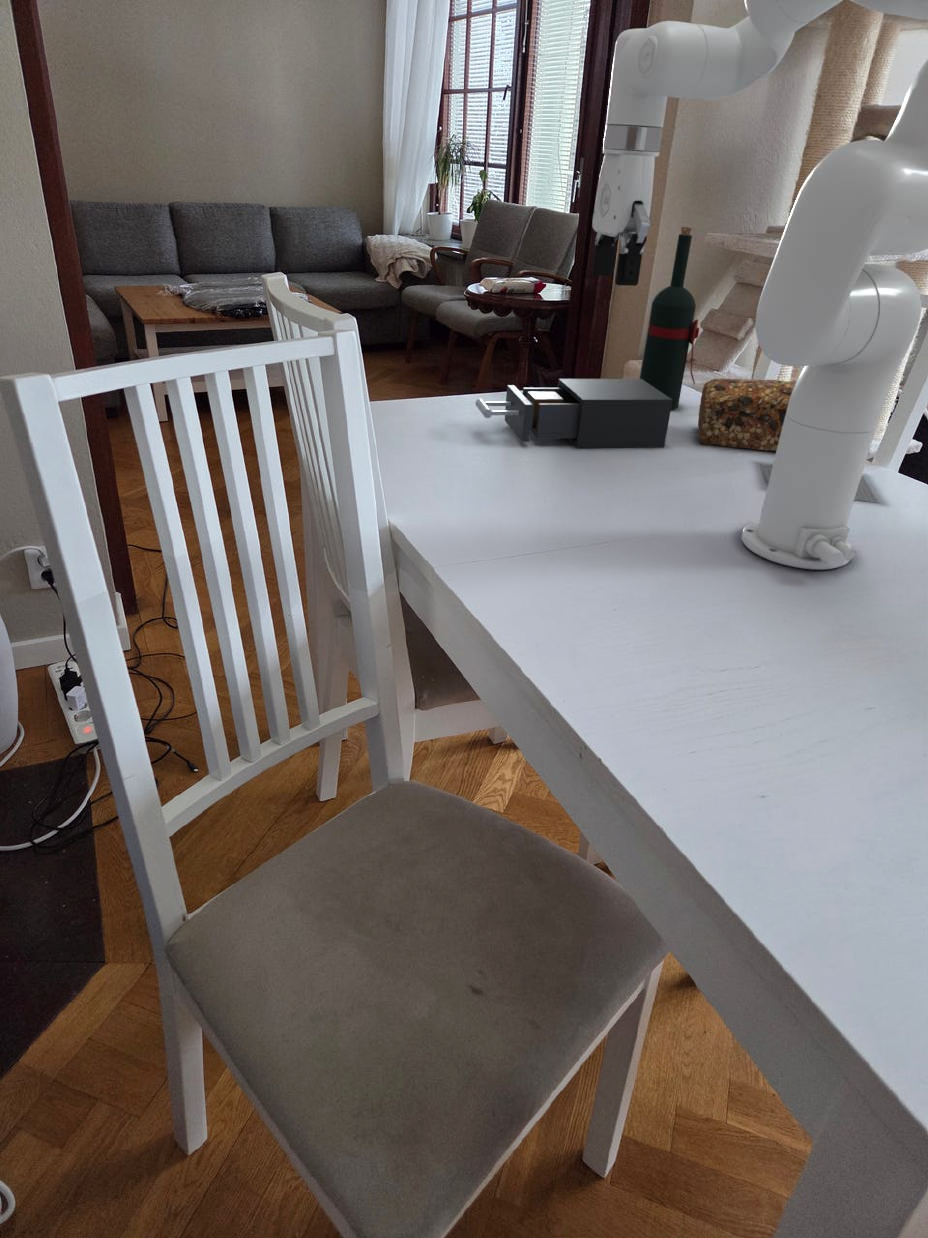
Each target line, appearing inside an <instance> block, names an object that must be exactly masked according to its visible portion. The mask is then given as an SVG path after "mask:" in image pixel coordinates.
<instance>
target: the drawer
mask: <svg viewBox="0 0 928 1238" xmlns="http://www.w3.org/2000/svg"><path fill="white" fill-rule="evenodd" d="M527 392H556V393H557V394H558V395H559V396H560V397H561V398H562V399H563V403H539V405H538V415H537V425H536V428H532V427H531V418H532V408H533V405H532V404H531V403H530V401H529V400H528V399H527ZM505 396H506V397H505V401H484V399H482V398H477V399H476V401H475V407H476V408H477V409H478V410H479V412H480V413H481V414H482V415H483V417H484V418H485V419H490V418H491V417H492V416H504V422H505V423H506V425H508V426H509V428H510V429H511V430H512V432H513V433H514V434H515V435H516V436H517V438H518V439H519V440H520V442H521V443H529V442H530V438H531V434H532V435H533V436H534V438H535V439H536V440H540V439H543V440H545V439H549V440H550V439H568V438H577V430H578V422H579V414H580V406H581V403H580V402H579V401H578V400H576V399H575V398H574V397H573V396H572V395H571V394H570V393H568V392H567V391H566V390H565V389H564V388H558V387H522V392H521V391H520V389H518V388H517V386H515V385H514V384H507V385H506V395H505ZM490 407H505V409H503V410H491V408H490Z"/></svg>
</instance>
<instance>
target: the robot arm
mask: <svg viewBox="0 0 928 1238" xmlns="http://www.w3.org/2000/svg"><path fill="white" fill-rule="evenodd" d="M843 1H844V0H744V5H745V9H746V11H747V14H748V15H747V16H746V17H745V18H743V19H741V20H740V21H739V22H737V23H736V24H734V25H732V26H731V27H728V28H726V27H720V26H714V25H708V24H702V23H694V22H684V21H677V20H663V21H660V22H657V23H654V24H652V25H651V26H649V27H647V28H643V27H642V28H630V29H626V30H623V31H622V32H620V34H619V35H618V36H617V39H616V42H615V45H614V53H613V54H614V55H613V61H612V69H611V77H610V78H611V79H610V86H609V87H610V88H609V95H608V105H607V113H606V121H605V129H604V136H603V137H604V138H603V147H602V154H604V156H603V161H602V165H601V169H600V172H599V179H598V183H597V190H596V195H595V202H594V209H593V214H592V224H591V227H592V229H593V231H594V232H596V236H595V239H594V253H593V259H592V260H593V261H592V268H591V269H592V270H591V273H592V275H594V276H613V275H614V271H615V265H616V264H617V265H616V272H615V280H614V283H615V285H616V286H630V287H631V286H632V287H633V286H634V287H636V286H638V284H639V279H640V272H641V267H642V258H643V255H644V253H645V245H646V243H647V241H648V237H647V235H648V232H649V229H650V226H651V220H650V214H651V207H652V200H653V199H652V198H653V191H654V190H653V189H654V177H655V162H656V161H655V160H656V158H657V157H660V151H661V143H662V138H663V131H664V129H663V128H664V124H665V117H666V110H667V104H668V98H675V99H676V98H677V99H682V98H683V99H691V100H702V101H709V102H710V101H711V102H713V101H720V100H724V99H728V98H730V97H733V96H735V95H737V94H739V93H741V92H742V91H744V90H746V89H747V88H749V87H750V86H752V85H754V84H755V83H757V82H759V81H761V80H762V79H763V78H765V77H767V76H768V75H769V74H770V73H771V72H772V71H774V70H775V68H776V67H777V66H778V65H779V64H780V62H781V61H782V59H784V56H785V55H786V53H787V51H788V50H789V48H790V46H791V44H792V42H793V39H794V38H795V34H796V32H797V31H798V30H800V29H802V28H803V27H805V26H806V25H808V24H809V23H810V22H812V21H814V20H815V19H817V18H818V17H820V16H822V15H824V13H826V12H828V11H829V10H830V9H832V8H834V7H836V6H837V5H838V4H840V3H841V2H843ZM849 1H850V2H852V3H853V4H856V5H858V6H861V7H862V8H865V9H869V10H871V11H875V12H879V13H882V14H886V15H894V16H899V17H904V18H909V19H914V20H915V19H916V20H920V21H922V20H923V21H928V0H849ZM897 114H898V115H897V117H896V119H895V121H894V123H893V125H892V126H891V129H890V131H889V133H888V135H887V137H886V138H885V140H878V139H861V140H856V141H851V142H847V143H845V144H842V145H840V146H839V147H838V146H837V148H835V149H833V150H832V151H830V152H829V153H828V154H827V155H826V156H824V157H823V158H822V159H821V160H820V161H819V162H818V163H817V164H816V166H815V167H814V168H813V169H812V171H810V174H809V175H808V176H807V177H806V179H805V181H804V183H803V184H802V186H801V187H800V189H799V192H798V193H797V197H796V199H795V202H794V204H793V207H792V209H791V212H790V215H789V217H788V220H787V222H786V224H785V225H786V226H785V228H784V231H783V234H782V235H781V239H780V242H779V245H778V247H777V249H776V251H775V255H774V258H773V260H772V263H771V266H770V269H769V271H768V273H767V277H766V279H765V282H764V285H763V288H762V291H761V294H760V296H759V301H758V304H757V308H756V314H755V315H756V316H755V335H756V339H757V343H758V345H759V348H760V349H761V351H762V352H763V354H764V355H765V356H766V357H767V358H768V359H769V360H771V361H772V362H774V363H776V364H779V365H782V366H787V367H804V368H803V369H802V370H801V372H800V374H799V376H798V378H797V380H796V381H797V382H796V384H795V386H794V389H793V391H792V394H791V397H790V400H789V404H788V408H787V412H786V415H785V419H784V423H783V427H782V431H781V435H780V439H779V443H778V447H777V451H775V455H774V459H773V464H772V465H773V467H772V471H771V475H770V479H769V483H768V487H767V486H766V492H765V496H764V499H763V504H762V507H761V511H760V516H759V519H756V520H753V521H750V522H749V523H747V524H746V525H744V527H743V529H742V533H741V540H742V541H741V542H742V543H743V545H745V546H746V548H747V549H748V550H750V551H751V552H753V553H754V554H756V555H757V556H759V557H761V558H764V559H766V560H768V561H771V562H774V563H777V564H780V565H784V566H788V567H793V568H798V569H803V570H820V571H822V570H833V569H839V568H841V567H843V566H845V565H847V564H848V563H850V561H851V560H853V559H854V558H855V557H856V554H857V551H856V550H855V548H853V545H852V544H851V542H849V540H848V536H849V534H850V531H851V528H850V527H848V526H847V524H848V521H849V518H850V515H851V511H852V508H853V505H854V502H855V500H854V499H855V495H856V492H857V489H858V486H859V482H860V479H861V476H863V472H864V469H865V466H866V463H867V459H868V456H869V453H870V451H871V450H870V449H871V446H872V443H873V440H874V436H875V433H876V430H877V428H878V424H879V421H880V419H881V415H882V412H883V408H884V406H885V403H886V400H887V397H888V393H889V391H890V389H891V386H892V383H893V381H894V379H895V377H896V374H897V372H898V370H899V368H900V366H901V364H902V363H903V362H902V361H903V360H904V359H905V356H906V354H907V353H908V351H909V348H910V346H911V345H912V342H913V341H914V337H915V335H916V334H917V331H918V327H919V325H920V320H921V314H922V299H921V294H920V291H919V288H918V286H917V285H916V282H915V281H914V280H913V279H912V278H911V276H909V275H908V274H907V273H905V271H903V270H901V269H899V268H896V267H894V266H890V265H887V264H878V263H867V260H868V259H869V257H873V256H874V257H875V256H876V257H877V256H904V255H913V254H917V253H920V252H923V251H925V250H928V58H927V59H926V60H925V62H924V63H923V65H922V66H921V68H920V69H919V70H918V72H917V74H916V75H915V76H914V78H913V80H912V82H911V83H910V85H909V87H908V90H907V92H906V93H905V96H904V99H903V102H902V104H901V107H900V109H899V112H898V113H897ZM618 237H619V240H620V246H621V247H620V248H621V253H618V257H617V250H618V246H617V245H615V244H616V242H617V240H618ZM616 258H617V263H616Z"/></svg>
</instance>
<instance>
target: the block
mask: <svg viewBox="0 0 928 1238" xmlns="http://www.w3.org/2000/svg"><path fill="white" fill-rule="evenodd" d="M527 399H528V400H529V401H530V403H531V404H532V405H533V408H532V418H531V427H532V428H536V425H537V415H538V405H539V403H563V399H562V398H561V397H560V396H559V395H558V394H557V393H556V392H527Z"/></svg>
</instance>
